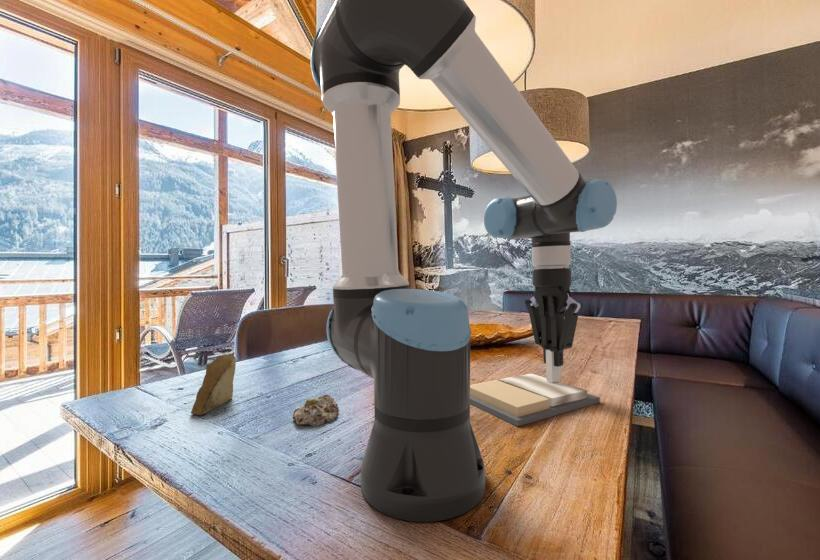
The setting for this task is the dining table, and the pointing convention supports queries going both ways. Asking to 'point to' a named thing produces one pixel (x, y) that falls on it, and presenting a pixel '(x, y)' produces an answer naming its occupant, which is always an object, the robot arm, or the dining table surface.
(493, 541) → the dining table surface
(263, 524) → the dining table surface
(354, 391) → the dining table surface
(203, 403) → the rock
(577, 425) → the dining table surface
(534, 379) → the book
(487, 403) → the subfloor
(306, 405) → the mineral rock
